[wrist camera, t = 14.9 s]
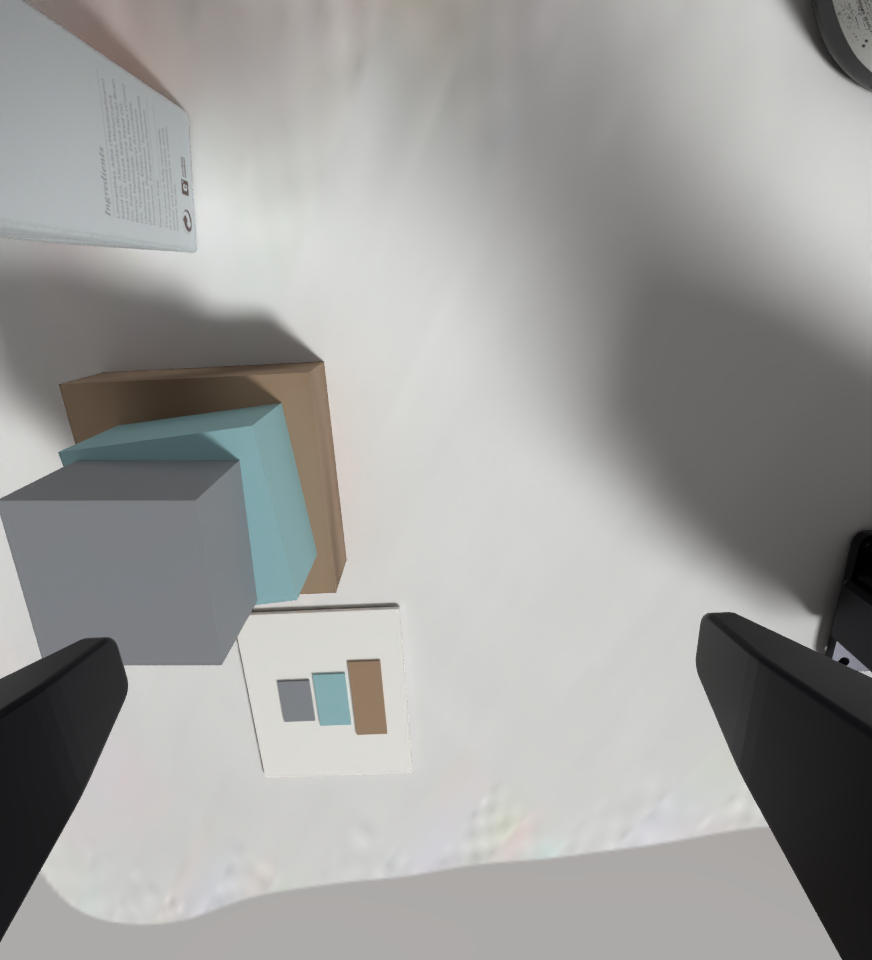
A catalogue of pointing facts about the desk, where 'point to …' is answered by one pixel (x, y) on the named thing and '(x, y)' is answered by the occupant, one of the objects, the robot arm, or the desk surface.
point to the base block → (228, 388)
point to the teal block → (265, 476)
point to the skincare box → (87, 145)
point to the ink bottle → (848, 35)
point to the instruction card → (328, 691)
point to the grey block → (135, 557)
